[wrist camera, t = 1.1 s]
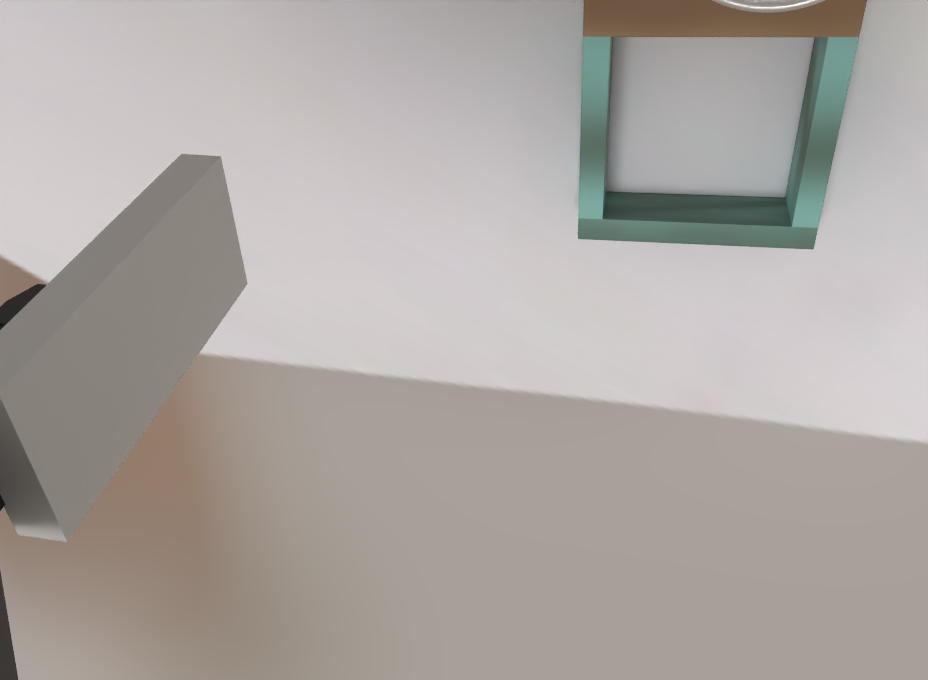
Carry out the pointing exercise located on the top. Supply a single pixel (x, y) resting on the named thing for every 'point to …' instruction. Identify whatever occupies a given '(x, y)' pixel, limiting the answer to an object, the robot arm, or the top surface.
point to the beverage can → (767, 4)
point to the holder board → (701, 216)
